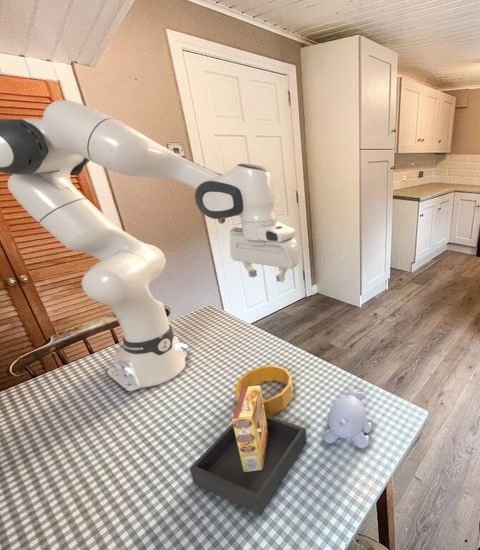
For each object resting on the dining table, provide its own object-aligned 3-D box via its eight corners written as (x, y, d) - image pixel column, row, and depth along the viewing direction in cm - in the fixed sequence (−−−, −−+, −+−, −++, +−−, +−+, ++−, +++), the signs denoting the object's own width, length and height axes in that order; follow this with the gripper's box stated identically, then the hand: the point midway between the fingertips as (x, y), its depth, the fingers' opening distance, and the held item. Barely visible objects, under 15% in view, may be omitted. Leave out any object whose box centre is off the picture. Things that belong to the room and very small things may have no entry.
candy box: (263, 470, 64) (253, 416, 58) (242, 473, 64) (230, 418, 58) (269, 435, 72) (261, 384, 67) (251, 437, 72) (241, 386, 66)
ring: (226, 408, 81) (222, 393, 79) (261, 374, 94) (259, 360, 92) (271, 424, 76) (269, 409, 74) (302, 386, 89) (301, 372, 87)
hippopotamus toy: (375, 407, 82) (375, 379, 78) (365, 458, 68) (366, 426, 64) (336, 402, 83) (335, 374, 80) (319, 451, 69) (317, 419, 66)
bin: (194, 484, 62) (189, 468, 60) (249, 422, 77) (247, 408, 75) (260, 516, 57) (256, 499, 55) (306, 443, 71) (305, 428, 69)
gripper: (220, 229, 80) (228, 277, 85) (286, 236, 73) (291, 288, 78) (237, 224, 85) (244, 270, 90) (300, 230, 79) (304, 279, 84)
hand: (266, 278), depth 84 cm, fingers open, 8 cm apart
